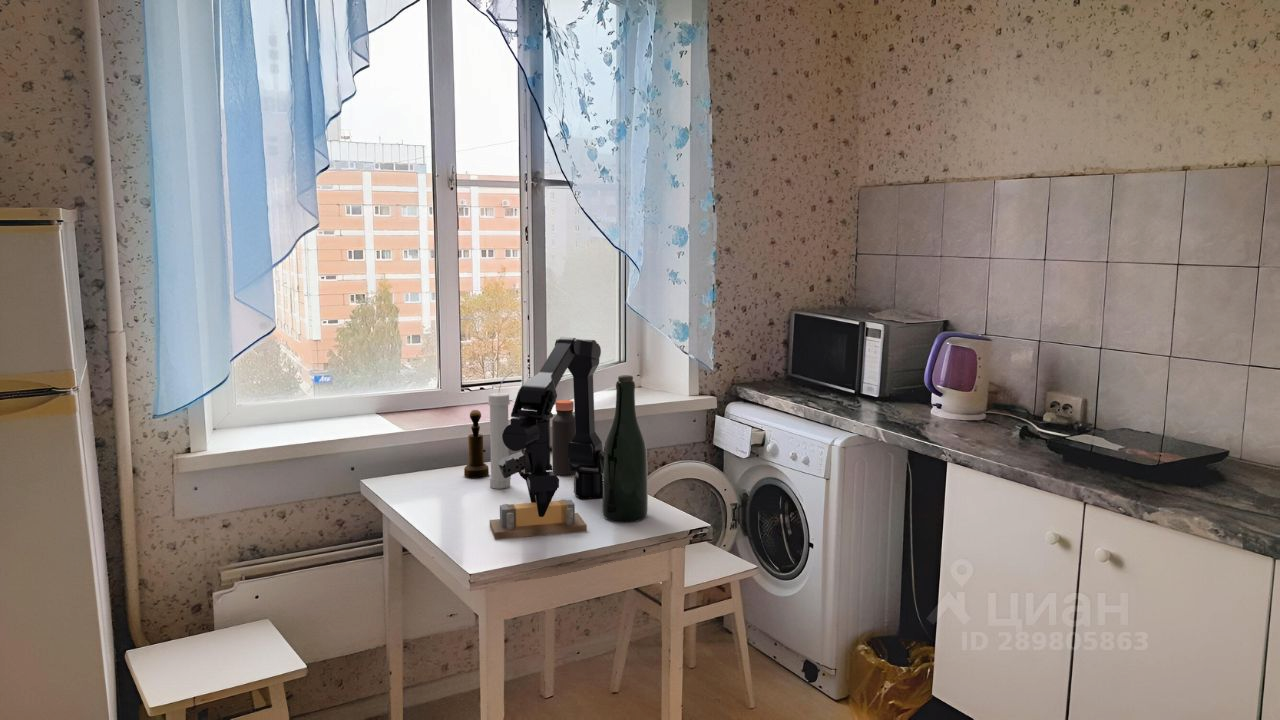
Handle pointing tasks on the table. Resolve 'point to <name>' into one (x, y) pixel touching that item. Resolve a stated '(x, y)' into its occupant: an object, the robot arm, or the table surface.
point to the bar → (536, 513)
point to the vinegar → (562, 437)
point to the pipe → (498, 437)
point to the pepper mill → (476, 450)
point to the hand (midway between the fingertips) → (537, 510)
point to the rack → (537, 527)
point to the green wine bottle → (625, 460)
